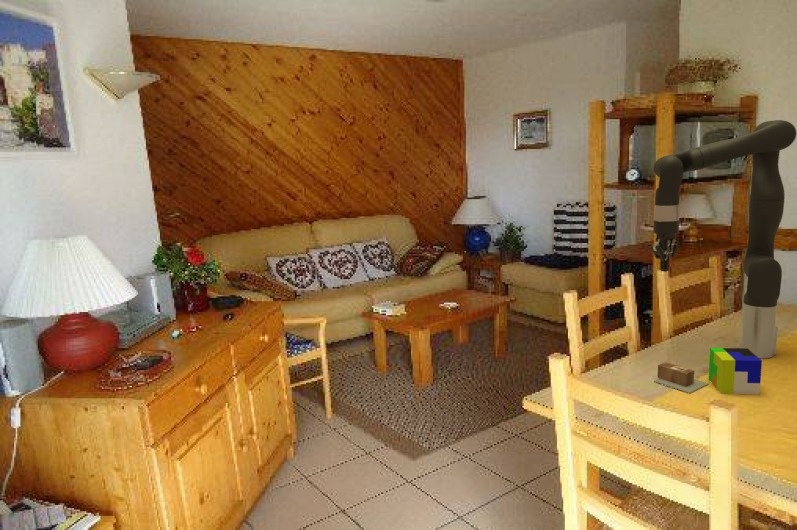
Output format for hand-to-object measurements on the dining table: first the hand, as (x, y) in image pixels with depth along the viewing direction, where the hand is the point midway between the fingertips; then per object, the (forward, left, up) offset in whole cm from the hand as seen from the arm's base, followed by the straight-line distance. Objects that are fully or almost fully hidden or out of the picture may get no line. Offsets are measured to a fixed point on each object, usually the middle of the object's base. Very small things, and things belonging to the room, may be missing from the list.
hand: (664, 271), depth 184 cm
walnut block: (+12, +17, -27) cm, 34 cm away
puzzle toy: (-2, +29, -29) cm, 41 cm away
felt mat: (+10, +22, -29) cm, 38 cm away
